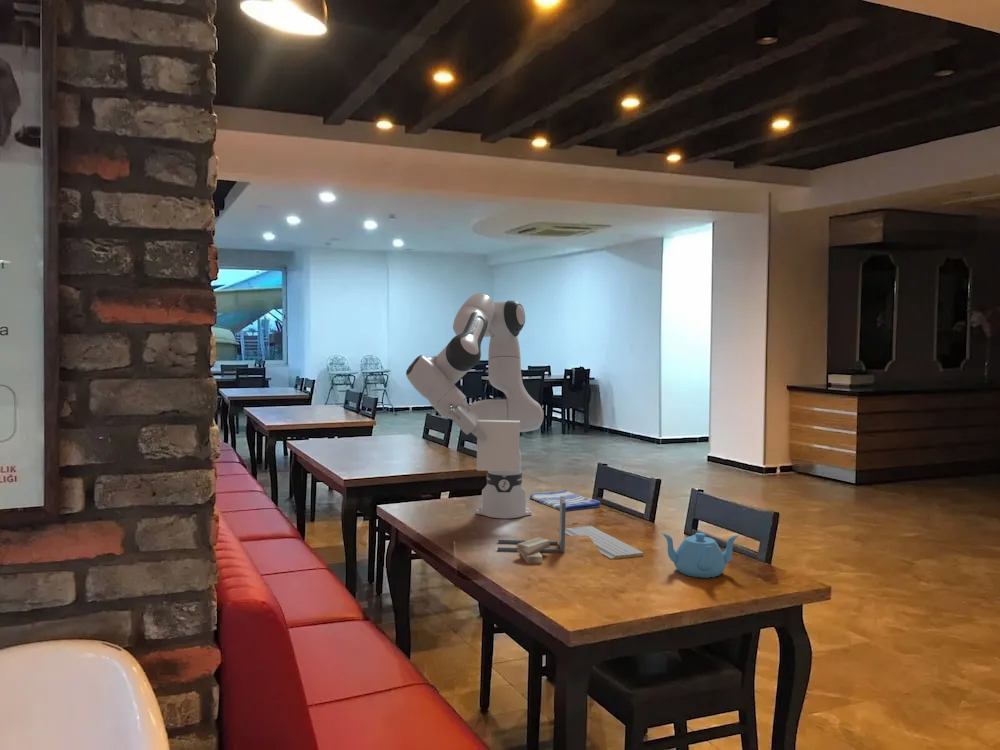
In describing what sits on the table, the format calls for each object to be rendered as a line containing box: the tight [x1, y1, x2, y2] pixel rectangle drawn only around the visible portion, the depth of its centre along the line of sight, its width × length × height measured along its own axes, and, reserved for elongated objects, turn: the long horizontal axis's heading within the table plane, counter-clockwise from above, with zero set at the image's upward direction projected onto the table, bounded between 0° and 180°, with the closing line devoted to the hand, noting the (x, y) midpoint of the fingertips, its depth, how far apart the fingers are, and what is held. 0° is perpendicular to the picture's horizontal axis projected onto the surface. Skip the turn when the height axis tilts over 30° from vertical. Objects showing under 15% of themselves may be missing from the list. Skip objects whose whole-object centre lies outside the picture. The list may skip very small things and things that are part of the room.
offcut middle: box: [520, 551, 543, 565], centre depth 207 cm, size 4×10×2 cm, turn 9°
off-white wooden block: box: [476, 420, 521, 472], centre depth 220 cm, size 4×12×14 cm, turn 89°
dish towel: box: [529, 489, 602, 512], centre depth 281 cm, size 17×24×3 cm
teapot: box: [661, 532, 739, 579], centre depth 201 cm, size 15×15×10 cm
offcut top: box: [516, 537, 551, 554], centre depth 209 cm, size 4×9×2 cm, turn 139°
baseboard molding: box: [565, 522, 645, 560], centre depth 228 cm, size 31×3×12 cm
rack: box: [497, 496, 567, 554], centre depth 217 cm, size 9×18×15 cm, turn 89°
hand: (484, 438), depth 220 cm, fingers closed on off-white wooden block, 4 cm apart
